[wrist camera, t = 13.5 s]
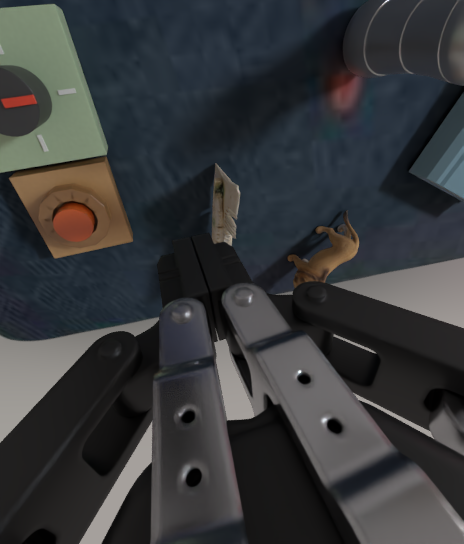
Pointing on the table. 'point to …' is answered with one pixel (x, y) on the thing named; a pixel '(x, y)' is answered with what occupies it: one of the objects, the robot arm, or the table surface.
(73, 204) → the button
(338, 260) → the lion figurine
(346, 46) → the plastic bottle
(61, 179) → the button box
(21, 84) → the knob
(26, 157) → the green dial box
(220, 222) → the comb
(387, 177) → the table surface
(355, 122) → the table surface
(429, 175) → the book
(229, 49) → the table surface
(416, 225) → the table surface
